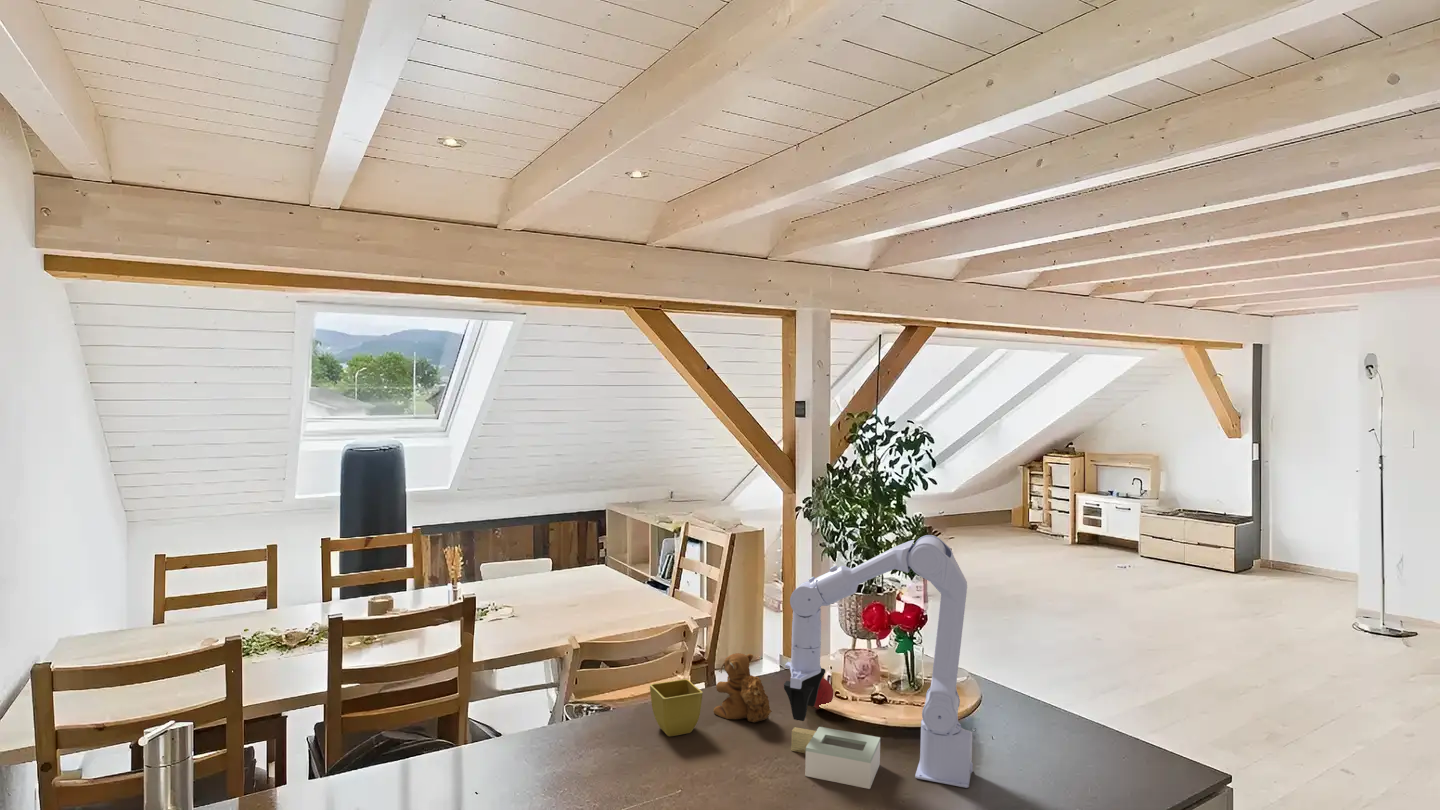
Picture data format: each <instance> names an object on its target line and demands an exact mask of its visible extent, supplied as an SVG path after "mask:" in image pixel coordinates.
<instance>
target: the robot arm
mask: <svg viewBox="0 0 1440 810" xmlns="http://www.w3.org/2000/svg"><path fill="white" fill-rule="evenodd" d="M914 541H915V539H912V540H908V541H906V542H903V543H901V544H898V545H896V546H893V547H892V548H890V549H888V550H885V551H883V552H882V553H880V554H878V555H875V556H874V557H872V558H870V559H868V560H866V561H864V562H862V563H860V564H858V565H856V566H855V567H848V566H846V565H840V566H839V567H838V565H836V564H835V565H833V566H831V567H830V568H829V571H828V572H826V573H824V574H821V575H819V576H817V577H815V576H814V575H813V576H812V577H810V578H809V579H808V581H804V582H802V583H800V584H799V585H798V586H797V587H796V588H795V589H794V590H793V591H792V593H791V595H790V598H789V604H790V607H791V610H792V622H791V653H790V654H791V655H790V656H791V657H790V658H791V660H790V661H787V662H786V663H785V665H784V668H785V669H787V670H789V671H790V679H789V680H790V681H789V680H786V681H784V683H783V689H784V690H783V691H784V692H785V694H786V695H787V697H788V700H789V704H790V709H791V713H792V718H793V720H795V721H800V722H804V721H805V719H806V717H807V711H808V706H809V707H813V708H815V707H814V705H815V702H816V698H817V694H818V689H819V686H820V683H821V680H822V678H823V676H824V677H825V674H826V669H825V668H822V666H821V648H822V646H821V644H822V642H821V641H822V619H821V617H822V614H821V613H822V609H821V607H827V606H829V605H832V604H834V603H836V602H839V601H841V600H843V599H845V598H847V597H850V596H852V595H854V594H856V593H857V591H858V587H859V584H862V583H864V582H866V581H869V580H871V579H875V578H876V577H879V576H882V575H884V574H886V573H888V572H891V571H894V570H897V571H900V572H904V573H907V574H908V573H909V572H910V570H912V571H913V572H914V573H915V574H917V576H919V577H920V578H922V579H924V580H926V581H928V582H930V583H931V584H932V585H933V587H934V588H935V589H937V591H938V592H939V593H940V601H939V602H940V603H939V609H938V611H939V612H938V621H937V629H936V638H935V646H934V648H935V649H934V656H933V657H934V658H933V667H932V672H931V673H932V675H931V682H930V687H929V688H928V689H927V691H926V694H925V701H924V706H923V707H922V711H921V717H922V719H921V721H920V744H919V745H920V750H919V751H920V753H919V762H918V764H917V768H916V771H915V775H914V778H916V779H918V780H924V781H929V782H933V783H939V784H945V785H949V786H956V787H960V788H966V789H967V788H969V787H970V781H971V776H972V773H973V768H974V767H973V766H974V762H973V761H972V756H973V731H971V730H969V729H968V730H967V729H964V728H963V727H962V724H961V723H960V722H959V717H958V715H959V707H960V702H961V700H960V696H959V693H958V690H957V689H958V688H957V683H958V672H959V665H960V664H959V663H960V655H961V645H962V637H963V628H964V619H965V618H964V617H965V611H966V601H967V591H968V581H967V578H966V577H965V575H964V573H963V571H962V569H961V567H960V565H959V564H958V562H957V560H956V558H955V555H954V552H953V551H952V548H950V546H949V545H947V544H946V543H945V541H943V540H942V539H941V538H940V537H938V536H936V535H932V534H926V535H923V536H921V537H919V538H918V539H917V540H916V541H915V542H914Z"/></svg>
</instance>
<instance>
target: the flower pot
mask: <svg viewBox="0 0 1440 810" xmlns="http://www.w3.org/2000/svg"><path fill="white" fill-rule="evenodd" d="M649 692H650V693H649V694H650V699H651V701H650V702H651V709H652V713H653V716H654V718H655V720H656V721H655V722H656V723H657V725H658V726H659V728H660V729H661V730H662V732H663V733H665V735H666V736H667V737H675V736H680V735H685V734H690V733H692V732H693V730H694V729H695V728H696V725H697V723H698V722H699V719H700V715H701V707H702V701H703V693H704V691H702V690H701V689H700V688H698V686H696V685H695V684H693V682H691V681H690V680H689V679H687V678H683V679H675V680H670V681H663V682H655V683H651V684H649Z"/></svg>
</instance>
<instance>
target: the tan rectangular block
mask: <svg viewBox="0 0 1440 810" xmlns="http://www.w3.org/2000/svg"><path fill="white" fill-rule="evenodd" d="M816 731H817V730H813V729H807V728H802V727H801V728H800V727H795V726H794V727H793V728H792V730H791V740H790V741H791V746H790V749H791V752H796V753H801V754H806V747H807V745H808V743H809V742H810V740H811V739H812V737H813V735H814V734H815V732H816Z"/></svg>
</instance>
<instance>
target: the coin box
mask: <svg viewBox="0 0 1440 810" xmlns="http://www.w3.org/2000/svg"><path fill="white" fill-rule="evenodd" d="M815 731H816V732H815V734H814V735H813V737H812V739H811V740H810V742H809V743H808V745H807V747H806V753H805V759H804V760H805V764H804V765H805V766H804V768H805V770H804V772H805V773H804V776H805V777H808V778H812V779H813V778H814V779H818V780H822V781H829V782H833V783H838V784H844V785H849V786H853V787H857V788H864V789H868V790H870V789H871V787H872V785H873V783H874V780H875V777H876V774H877V773H878V770H879V768H880V766H881V765H880V764H881V760H880V759H881V737H880V736H874V735H869V734H862V733H857V732H851V731H846V730H840V729H835V728H834V729H833V728H829V727H825V726H824V727H823V726H818V728H817V729H816V730H815Z"/></svg>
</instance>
